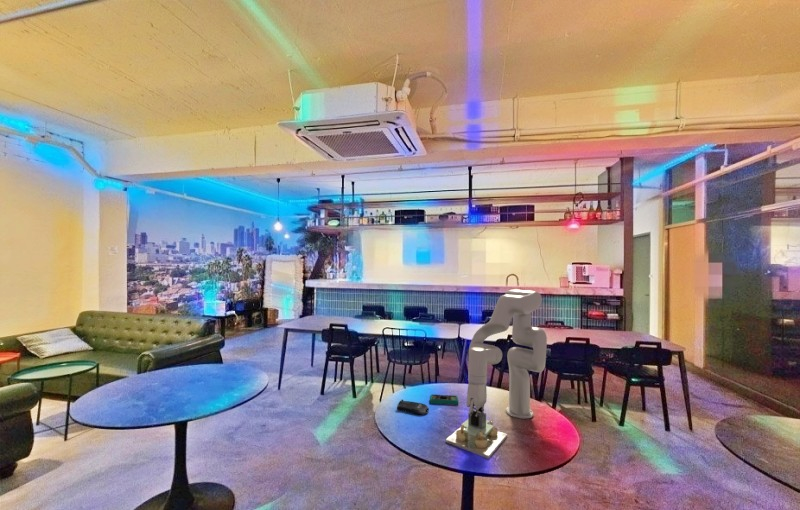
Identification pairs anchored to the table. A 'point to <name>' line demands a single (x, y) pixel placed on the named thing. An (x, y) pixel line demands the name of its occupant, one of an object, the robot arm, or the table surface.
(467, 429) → the board
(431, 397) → the digital multimeter
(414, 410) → the electronic device
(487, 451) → the chassis
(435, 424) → the table surface
